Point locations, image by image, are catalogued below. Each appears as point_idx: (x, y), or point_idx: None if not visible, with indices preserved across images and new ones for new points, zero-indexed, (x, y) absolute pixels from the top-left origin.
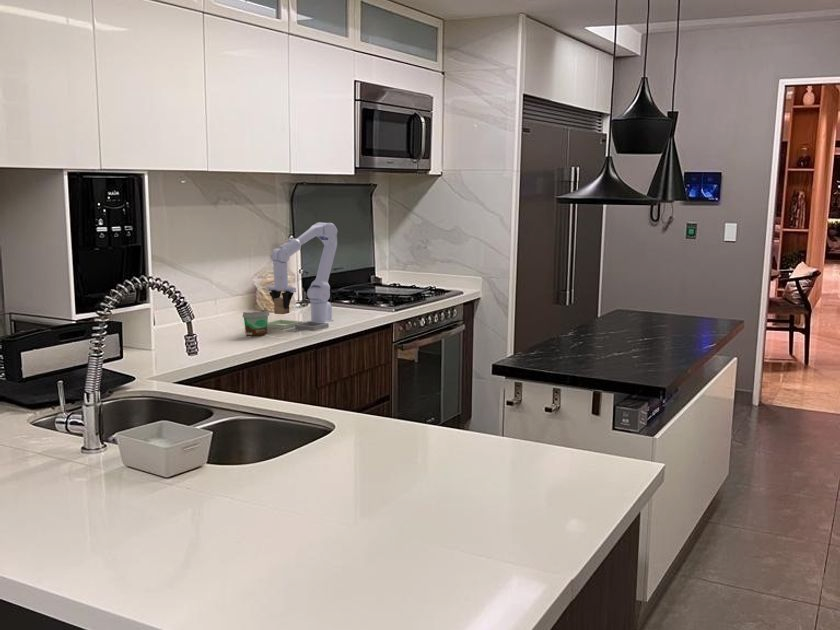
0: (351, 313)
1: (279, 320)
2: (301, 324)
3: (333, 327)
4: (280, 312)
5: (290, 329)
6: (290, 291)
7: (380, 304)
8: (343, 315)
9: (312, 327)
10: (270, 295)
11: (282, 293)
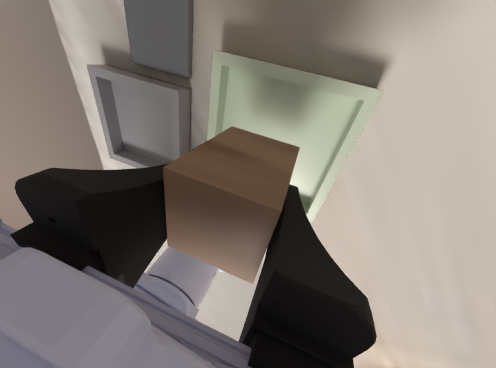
0: (205, 318)
1: (310, 205)
2: (173, 125)
3: (120, 162)
4: (244, 135)
5: (184, 41)
6: (12, 239)
7: (211, 364)
8: (206, 304)
9: (97, 66)
10: (342, 272)
11: (68, 190)
